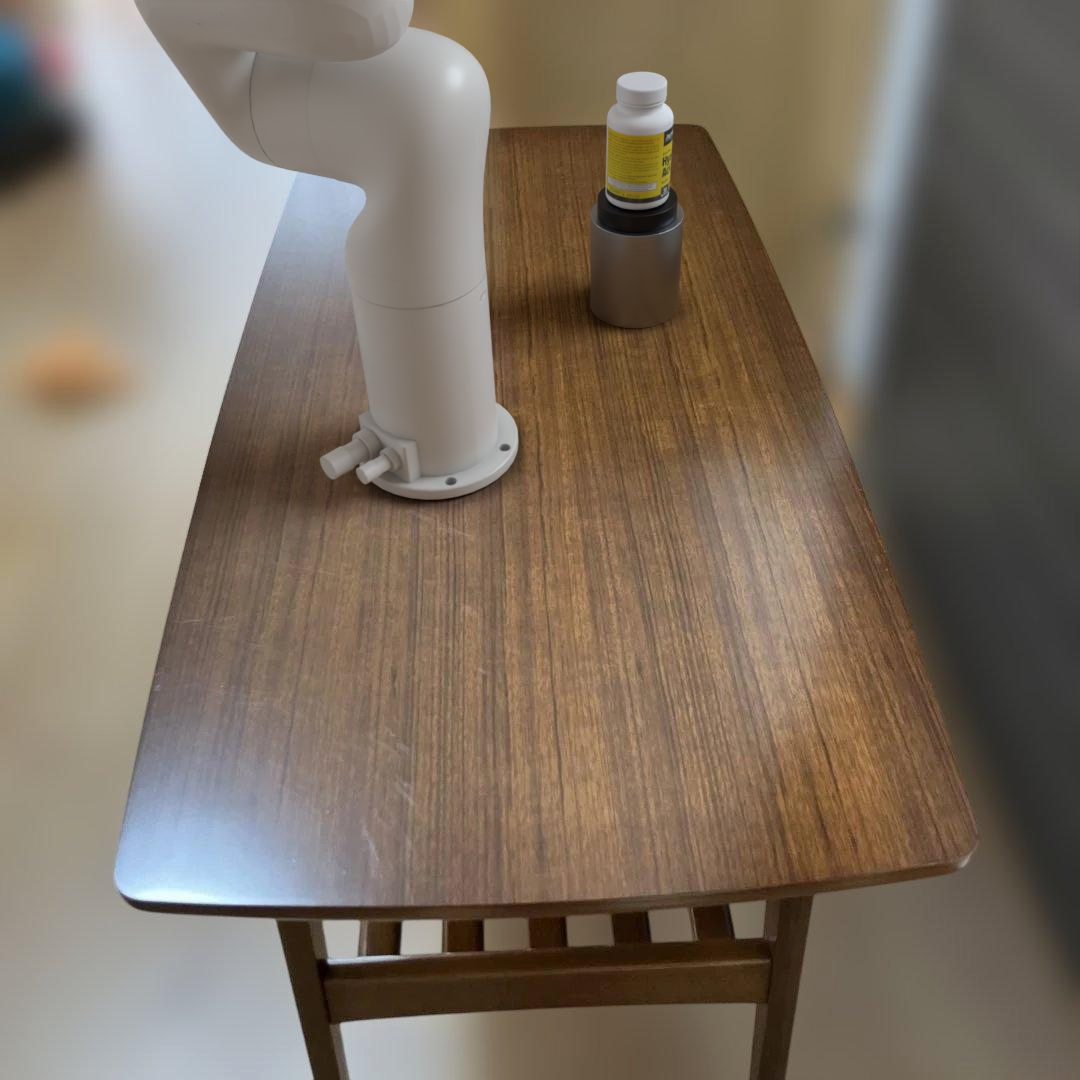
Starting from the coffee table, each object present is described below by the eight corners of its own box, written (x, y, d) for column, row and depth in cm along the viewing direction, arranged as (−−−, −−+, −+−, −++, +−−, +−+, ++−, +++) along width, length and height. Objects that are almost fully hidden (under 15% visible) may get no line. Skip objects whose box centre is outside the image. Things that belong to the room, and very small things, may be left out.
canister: (637, 339, 98) (640, 229, 91) (572, 305, 102) (570, 198, 95) (696, 303, 102) (704, 195, 95) (631, 272, 106) (634, 166, 99)
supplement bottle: (671, 211, 93) (678, 93, 86) (606, 213, 93) (607, 95, 86) (667, 181, 97) (673, 66, 90) (604, 183, 97) (605, 68, 90)
